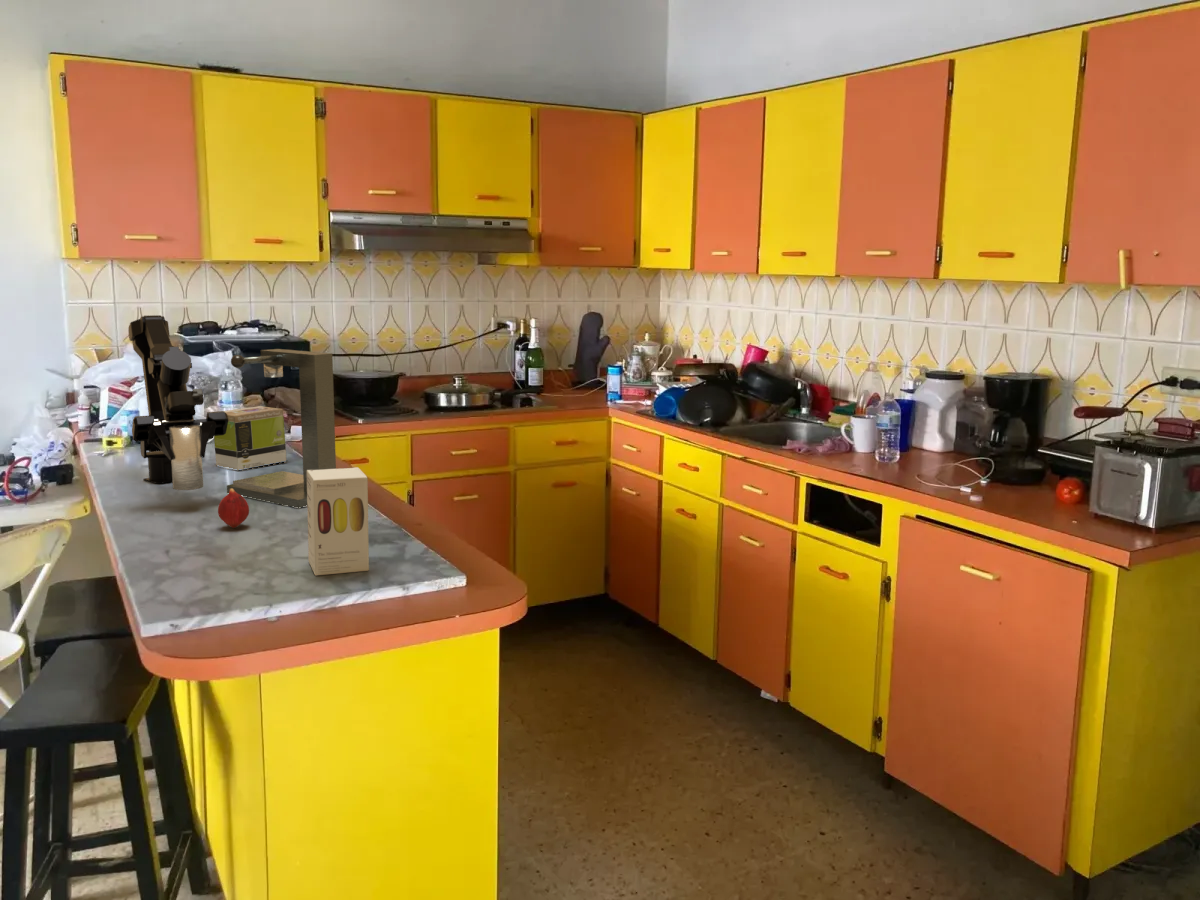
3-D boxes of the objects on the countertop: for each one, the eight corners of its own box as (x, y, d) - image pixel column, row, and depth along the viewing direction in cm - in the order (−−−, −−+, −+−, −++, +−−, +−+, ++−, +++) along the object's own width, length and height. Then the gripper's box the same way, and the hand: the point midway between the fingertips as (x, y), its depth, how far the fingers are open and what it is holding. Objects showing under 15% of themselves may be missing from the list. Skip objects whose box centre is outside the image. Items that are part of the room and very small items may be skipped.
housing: (166, 487, 208) (163, 426, 206) (191, 482, 213) (188, 423, 211) (184, 491, 205) (180, 429, 203) (209, 486, 210) (206, 425, 208)
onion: (256, 526, 198) (254, 487, 196) (234, 533, 193) (232, 493, 191) (234, 522, 200) (232, 484, 199) (212, 529, 195) (210, 490, 194)
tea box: (264, 458, 267) (261, 404, 264) (287, 463, 261) (285, 408, 258) (214, 467, 255) (211, 410, 252) (237, 472, 249) (234, 414, 246)
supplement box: (314, 576, 167) (310, 479, 164) (307, 561, 175) (303, 469, 172) (371, 570, 170) (368, 476, 167) (361, 556, 179) (359, 465, 176)
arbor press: (204, 498, 220) (196, 351, 214) (283, 481, 238) (277, 345, 232) (278, 514, 207) (271, 358, 201) (355, 495, 226) (350, 352, 220)
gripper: (130, 378, 203) (141, 439, 196) (224, 374, 213) (238, 432, 206) (127, 410, 211) (138, 470, 204) (218, 405, 221) (231, 462, 214)
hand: (187, 457), depth 207 cm, fingers closed on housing, 6 cm apart
